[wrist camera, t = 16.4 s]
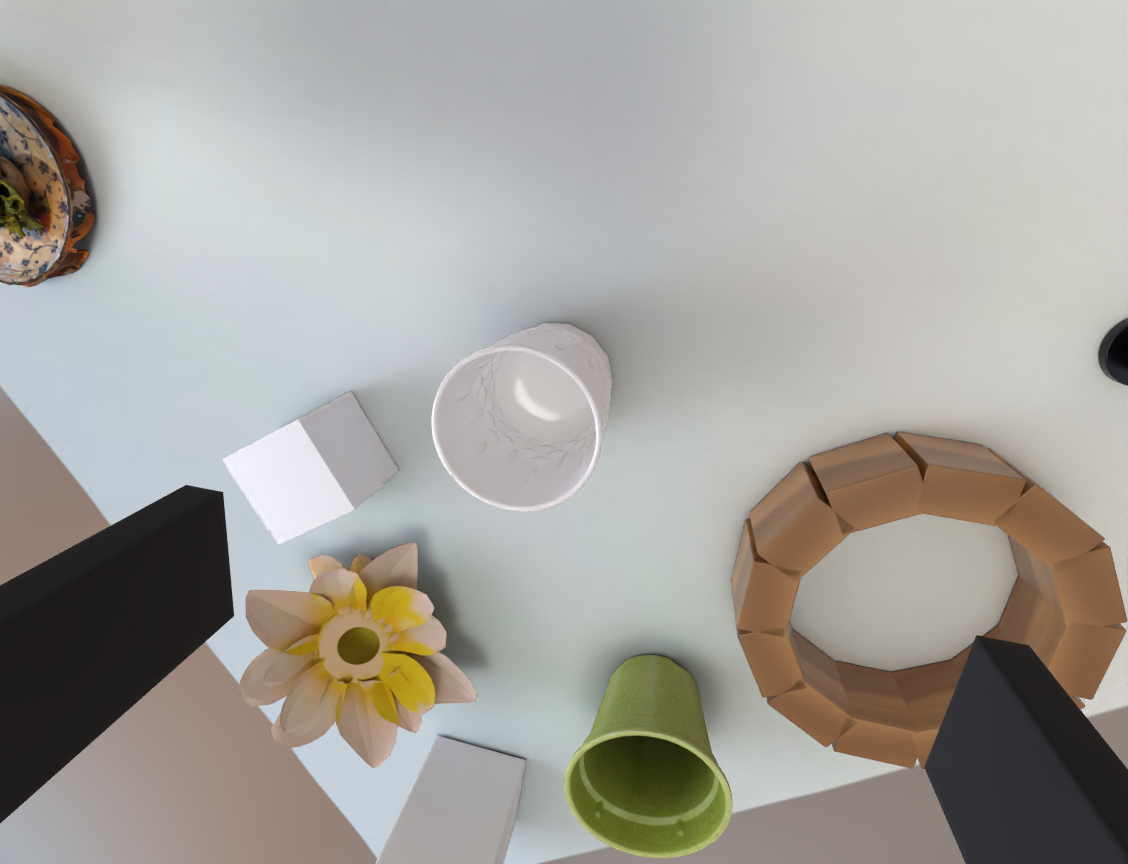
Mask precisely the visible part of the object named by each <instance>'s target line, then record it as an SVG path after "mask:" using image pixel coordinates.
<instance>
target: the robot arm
mask: <svg viewBox="0 0 1128 864" xmlns="http://www.w3.org/2000/svg"><path fill="white" fill-rule="evenodd" d="M233 616H234V610H233V599H232V587H231V576H230V565H229V554H228V542H227V531H226V520H225V509H224V498H223V492H220V491H214V490H209V489H204V488H199V487H193V486H188V485H185V486H183V487H182V488H180V489H178V490H176V491H174V492H172V493H171V494H169V495H167V496H165V497H163V498H161V499H159V500H158V501H156V502H154V503H152V504H150V505H148V506H146V507H145V508H143V509H141V510H139V511H137V512H135V513H134V514H132V515H130V516H128V517H126V518H124V519H122V520H121V521H119V522H117V523H115V524H113V525H111V526H110V527H108V528H106V529H104V530H102V531H101V532H98V533H97V534H95V535H93V536H91V537H89V538H87V539H85V540H84V541H82V542H80V543H78V544H76V545H74V546H73V547H71V548H69V549H67V550H65V551H63V552H61V553H60V554H58V555H56V556H54V557H53V558H51V559H48V560H47V561H45V562H43V563H41V564H39V565H37V566H36V567H34V568H32V569H30V570H28V571H26V572H24V573H23V574H21V575H19V576H17V577H15V578H13V579H11V580H10V581H8V582H6V583H4V584H2V585H0V823H1V822H2V821H3V820H5V819H6V818H7V817H8V816H9V815H10V814H11V813H12V812H14V811H15V810H16V809H17V808H18V807H19V806H20V805H22V804H23V803H24V802H25V801H26V800H27V799H28V798H29V797H30V796H32V795H33V794H34V793H35V792H36V791H37V790H38V789H40V788H41V787H42V786H43V785H44V784H45V783H46V782H47V781H48V780H50V779H51V778H52V777H53V776H54V775H55V774H56V773H58V772H59V771H60V770H61V769H62V768H63V767H64V766H65V765H67V764H68V763H69V762H70V761H71V760H72V759H73V758H74V757H75V756H77V755H78V754H79V753H80V752H81V751H82V750H84V749H85V748H86V747H87V746H88V745H89V744H90V743H91V742H92V741H94V740H95V739H96V738H97V737H98V736H99V735H100V734H102V733H103V732H104V731H105V730H106V729H107V728H108V727H109V726H111V725H112V724H113V723H114V722H115V721H116V720H117V719H118V718H120V717H121V716H122V715H123V714H124V713H125V712H126V711H127V710H129V709H130V708H131V707H132V706H133V705H134V704H135V703H136V702H138V701H139V700H140V699H141V698H142V697H143V696H144V695H146V694H147V693H148V692H149V691H150V690H151V689H152V688H153V687H155V686H156V685H157V684H158V683H159V682H160V681H161V680H162V679H164V678H165V677H166V676H167V675H168V674H169V673H170V672H171V671H173V670H174V669H175V668H176V667H177V666H178V665H179V664H180V663H181V662H183V661H184V660H185V659H186V658H187V657H188V656H189V655H191V654H192V653H193V652H194V651H195V650H196V649H197V648H198V647H200V646H201V645H202V644H203V643H204V642H205V641H206V640H208V639H209V638H210V637H211V636H212V635H213V634H214V633H215V632H217V631H218V630H219V629H220V628H221V627H222V626H223V625H224V624H226V623H227V622H228V621H229V620H230V619H231V618H232V617H233ZM924 768H925V770H926V772H927V775H928V777H929V779H930V782H931V784H932V786H933V788H934V791H935V793H936V795H937V798H938V800H939V802H940V805H941V807H942V809H943V812H944V814H945V816H946V819H947V821H948V823H949V826H950V828H951V830H952V833H953V835H954V837H955V840H956V842H957V844H958V846H959V849H960V851H961V854H962V856H963V858H964V861H965V863H966V864H1128V769H1127V768H1126V767H1125V766H1124V764H1123V763H1122V762H1121V760H1120V759H1119V758H1118V757H1117V755H1116V754H1115V753H1114V752H1113V751H1112V749H1111V748H1110V747H1109V745H1108V744H1107V743H1106V742H1105V740H1104V739H1103V738H1102V737H1101V735H1100V734H1099V733H1098V731H1097V730H1096V729H1095V728H1094V727H1093V725H1092V724H1091V723H1090V721H1089V720H1088V719H1087V718H1086V716H1085V715H1084V714H1083V713H1082V711H1081V710H1080V709H1079V708H1078V706H1077V705H1076V704H1075V703H1074V701H1073V700H1072V699H1071V697H1070V696H1069V695H1068V694H1067V692H1066V691H1065V690H1064V689H1063V687H1062V686H1061V685H1060V684H1059V682H1058V681H1057V680H1056V679H1055V677H1054V676H1053V675H1052V674H1051V672H1050V671H1049V670H1048V669H1047V667H1046V666H1045V665H1044V663H1043V662H1042V661H1041V660H1040V658H1039V657H1038V656H1037V655H1036V653H1035V652H1034V651H1033V650H1032V648H1031V647H1030V646H1029V645H1025V644H1020V643H1014V642H1009V641H1004V640H999V639H993V638H988V637H983V636H978V635H977V636H976V638H975V641H974V643H973V646H972V648H971V651H970V653H969V656H968V658H967V661H966V663H965V666H964V668H963V671H962V673H961V676H960V678H959V681H958V683H957V686H956V688H955V691H954V693H953V696H952V698H951V701H950V704H949V706H948V709H947V711H946V714H945V716H944V719H943V721H942V724H941V726H940V729H939V731H938V734H937V736H936V739H935V741H934V744H933V746H932V749H931V751H930V754H929V756H928V759H927V761H926V764H925V766H924Z"/></svg>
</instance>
